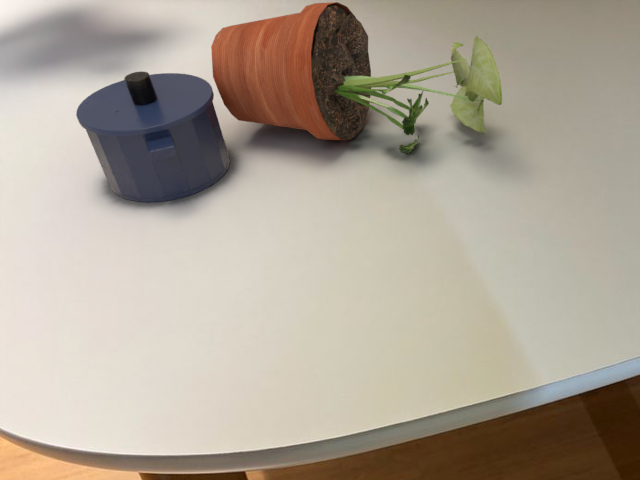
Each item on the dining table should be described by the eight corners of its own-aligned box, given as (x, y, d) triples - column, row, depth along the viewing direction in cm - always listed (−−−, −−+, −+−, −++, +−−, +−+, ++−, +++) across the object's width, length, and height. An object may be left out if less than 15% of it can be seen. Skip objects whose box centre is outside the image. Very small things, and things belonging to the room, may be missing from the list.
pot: (119, 227, 80) (89, 158, 74) (103, 150, 92) (76, 86, 86) (245, 194, 83) (225, 127, 78) (213, 125, 95) (194, 62, 90)
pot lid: (86, 154, 76) (70, 118, 74) (76, 100, 85) (61, 66, 83) (226, 122, 80) (216, 86, 77) (203, 74, 89) (193, 40, 86)
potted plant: (227, 172, 90) (530, 177, 81) (179, 31, 80) (516, 19, 71) (289, 117, 102) (560, 116, 92) (253, -12, 92) (552, -27, 83)
